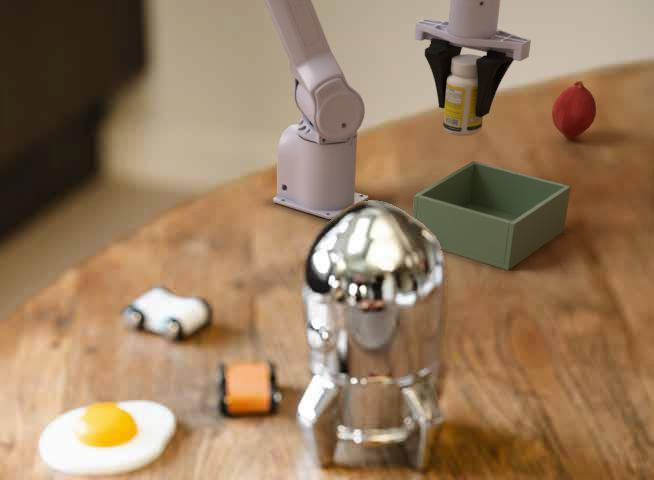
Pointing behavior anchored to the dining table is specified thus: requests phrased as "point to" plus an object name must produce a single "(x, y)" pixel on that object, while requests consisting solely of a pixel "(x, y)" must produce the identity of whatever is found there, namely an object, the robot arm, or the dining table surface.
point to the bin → (492, 213)
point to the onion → (574, 110)
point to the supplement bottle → (462, 97)
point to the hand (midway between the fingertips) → (464, 110)
